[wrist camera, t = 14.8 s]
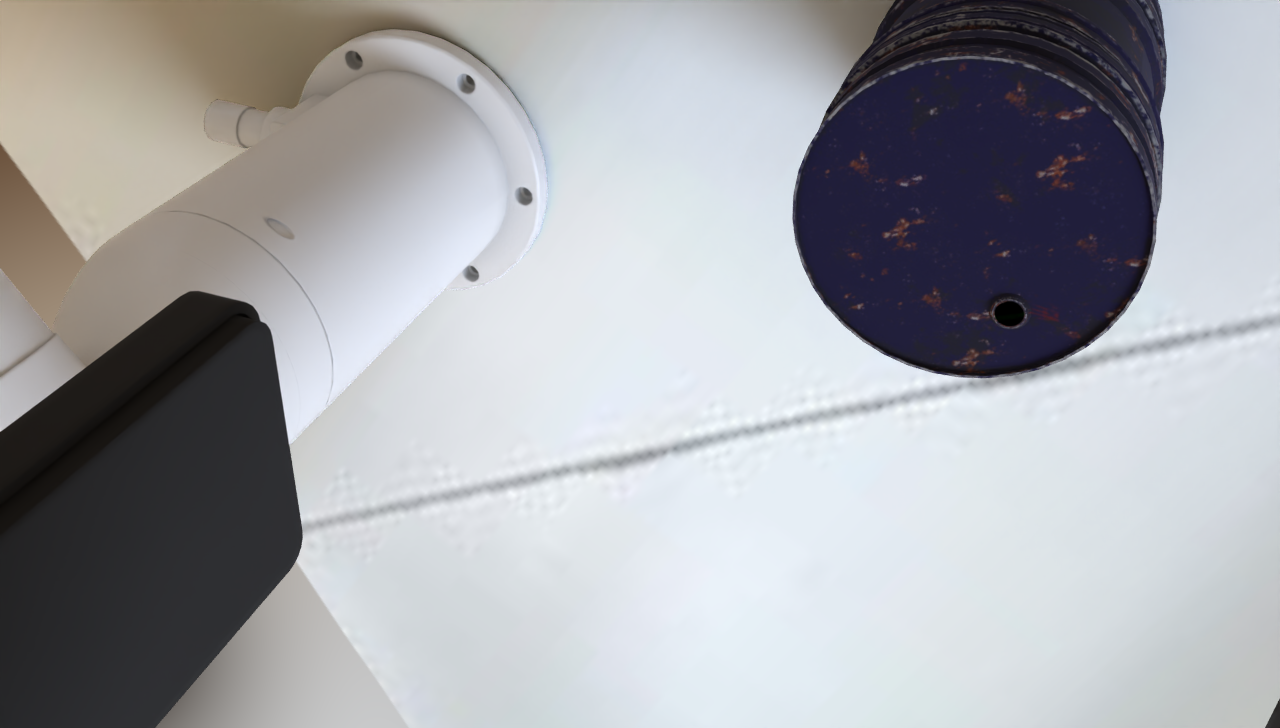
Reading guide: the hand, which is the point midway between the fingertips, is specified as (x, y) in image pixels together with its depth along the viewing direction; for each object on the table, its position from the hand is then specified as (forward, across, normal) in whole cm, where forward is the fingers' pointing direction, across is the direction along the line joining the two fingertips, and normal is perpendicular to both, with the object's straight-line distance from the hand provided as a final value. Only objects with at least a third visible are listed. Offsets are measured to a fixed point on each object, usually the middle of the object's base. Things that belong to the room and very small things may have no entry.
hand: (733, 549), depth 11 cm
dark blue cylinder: (+38, -1, +8) cm, 39 cm away
